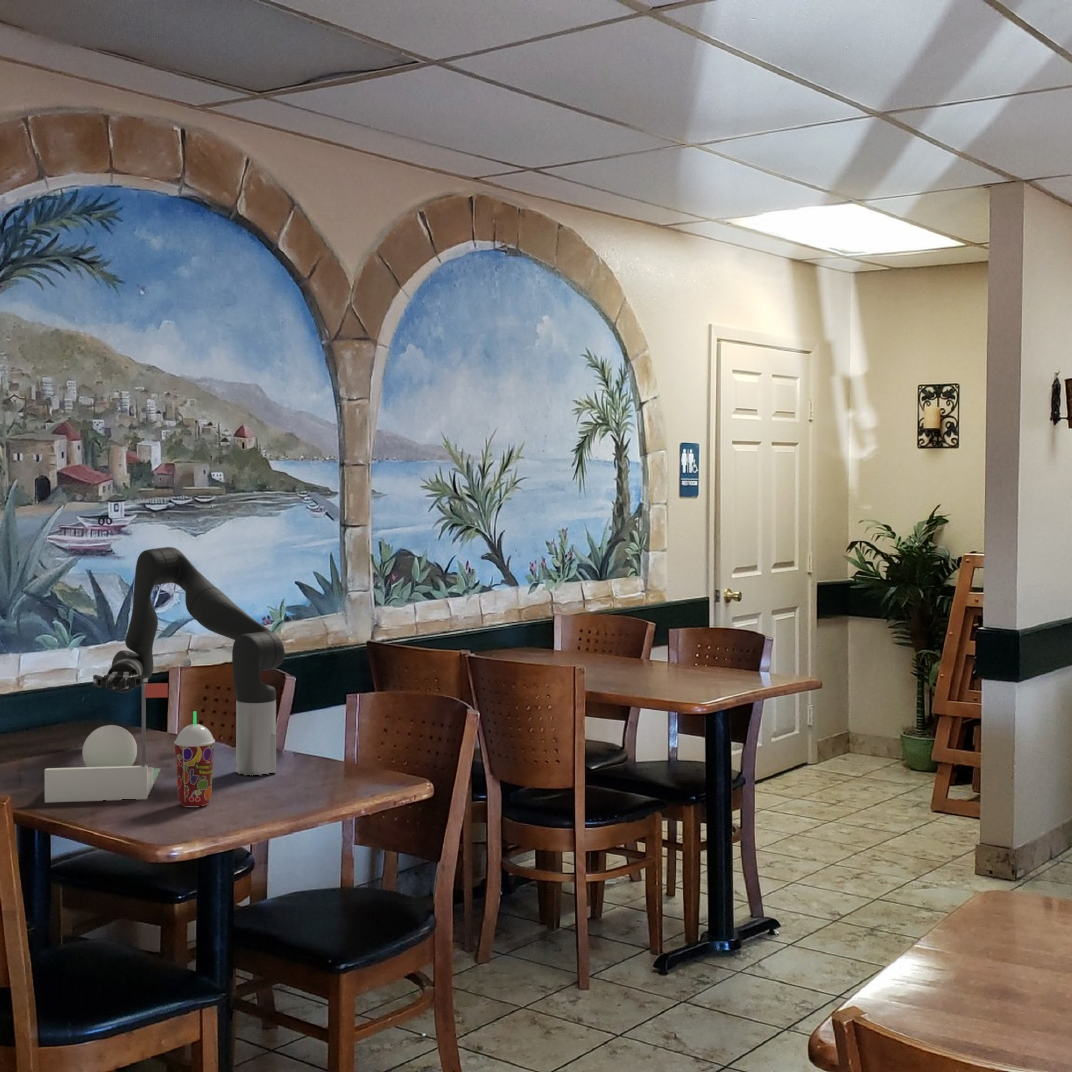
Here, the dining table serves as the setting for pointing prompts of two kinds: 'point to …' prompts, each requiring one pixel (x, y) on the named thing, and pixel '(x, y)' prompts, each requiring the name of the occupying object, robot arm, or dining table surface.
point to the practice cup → (106, 772)
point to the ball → (109, 747)
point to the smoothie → (194, 764)
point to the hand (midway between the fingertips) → (115, 685)
